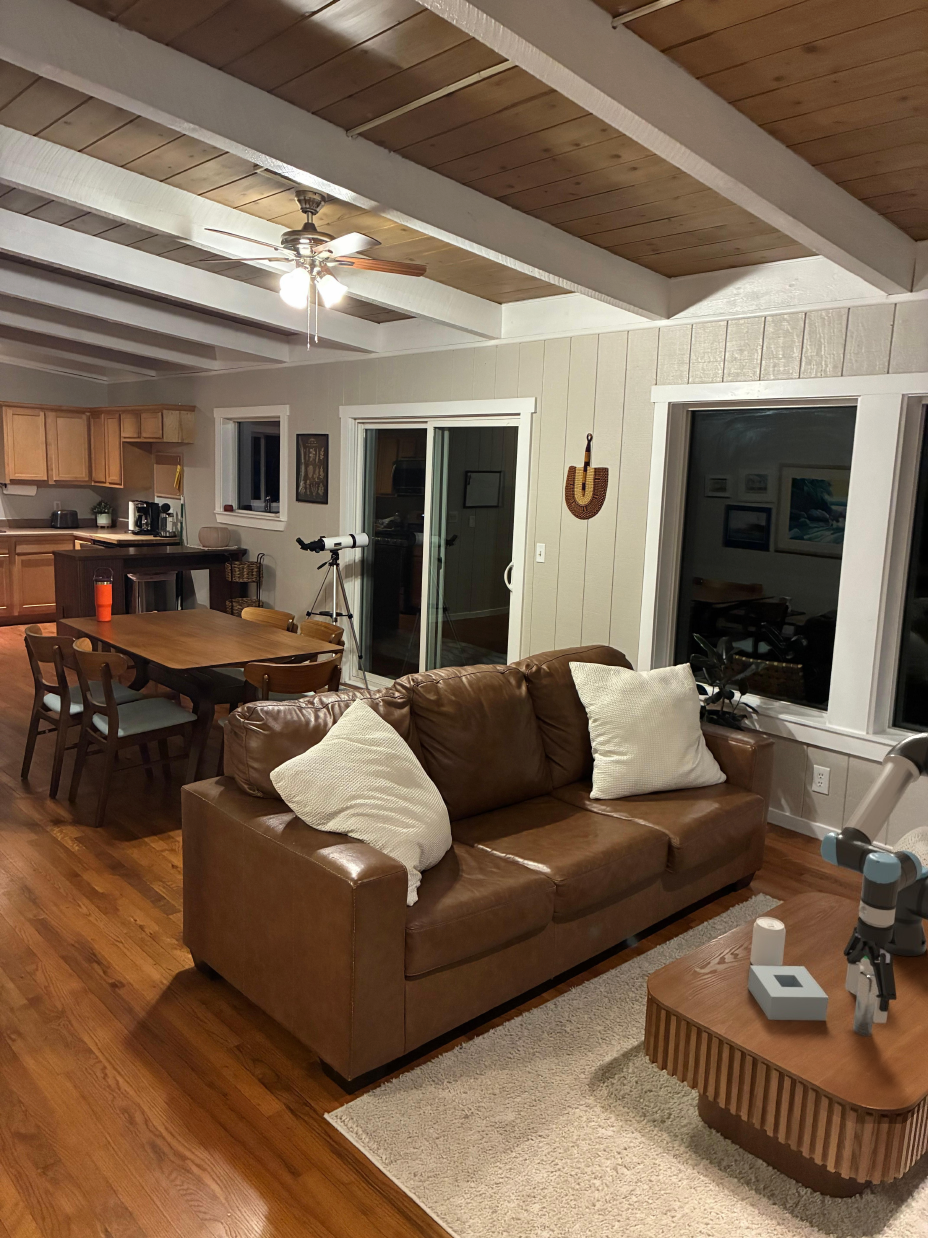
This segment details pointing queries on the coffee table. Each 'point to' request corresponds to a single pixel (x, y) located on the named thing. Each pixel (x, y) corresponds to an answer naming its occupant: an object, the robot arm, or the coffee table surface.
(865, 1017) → the peg
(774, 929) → the beverage can
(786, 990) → the socket block
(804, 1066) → the coffee table surface
